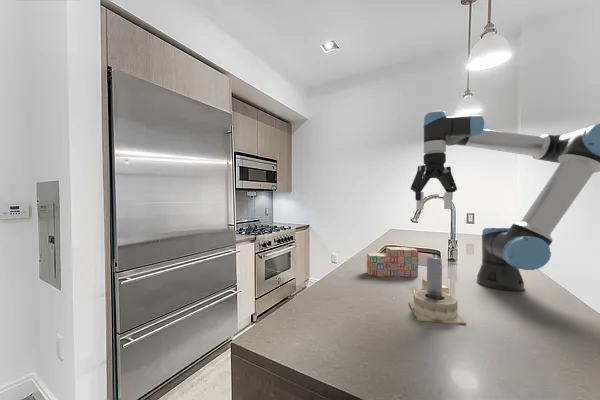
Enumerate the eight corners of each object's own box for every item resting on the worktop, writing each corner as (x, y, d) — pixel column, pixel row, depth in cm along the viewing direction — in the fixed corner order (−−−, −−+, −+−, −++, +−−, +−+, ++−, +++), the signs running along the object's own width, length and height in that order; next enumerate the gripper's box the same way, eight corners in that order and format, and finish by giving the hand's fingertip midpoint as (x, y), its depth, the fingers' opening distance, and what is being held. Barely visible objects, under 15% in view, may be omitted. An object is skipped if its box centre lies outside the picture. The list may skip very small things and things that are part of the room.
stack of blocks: (369, 276, 116) (369, 249, 116) (366, 272, 122) (366, 246, 122) (418, 277, 115) (418, 249, 115) (412, 273, 121) (412, 247, 121)
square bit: (448, 299, 90) (432, 289, 100) (448, 287, 90) (432, 278, 100) (437, 299, 90) (422, 289, 100) (437, 287, 90) (422, 279, 100)
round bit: (439, 309, 80) (439, 257, 80) (443, 314, 76) (443, 259, 76) (425, 308, 81) (425, 256, 81) (429, 313, 77) (429, 259, 77)
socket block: (449, 306, 83) (449, 291, 83) (466, 324, 71) (466, 306, 71) (408, 303, 86) (408, 288, 86) (417, 320, 74) (417, 302, 74)
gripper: (450, 156, 106) (450, 208, 106) (400, 153, 98) (400, 209, 98) (467, 153, 99) (467, 209, 99) (415, 149, 91) (415, 209, 91)
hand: (434, 209), depth 99 cm, fingers open, 13 cm apart
